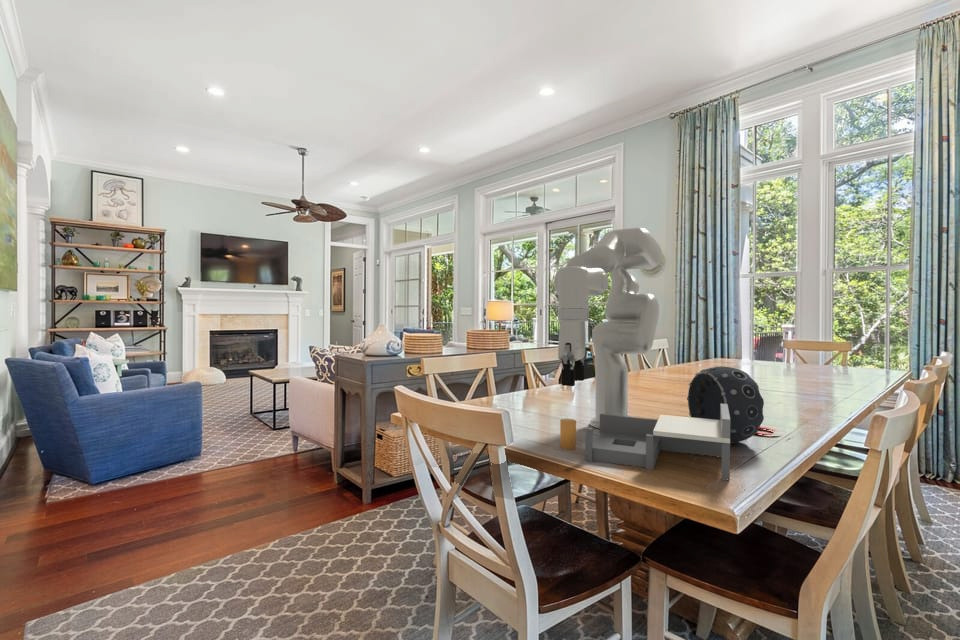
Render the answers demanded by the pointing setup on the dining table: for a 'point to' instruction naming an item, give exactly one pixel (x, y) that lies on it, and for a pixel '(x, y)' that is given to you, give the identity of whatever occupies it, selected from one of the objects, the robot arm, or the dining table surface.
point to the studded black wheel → (727, 399)
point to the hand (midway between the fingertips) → (573, 382)
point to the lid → (695, 427)
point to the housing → (644, 443)
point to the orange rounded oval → (568, 434)
